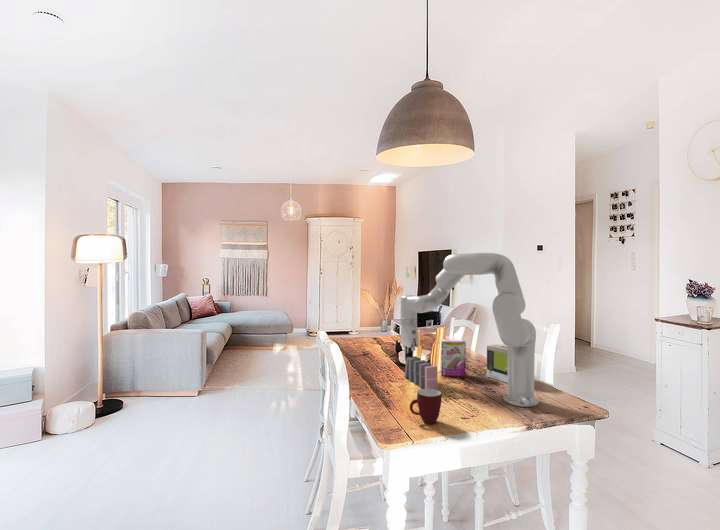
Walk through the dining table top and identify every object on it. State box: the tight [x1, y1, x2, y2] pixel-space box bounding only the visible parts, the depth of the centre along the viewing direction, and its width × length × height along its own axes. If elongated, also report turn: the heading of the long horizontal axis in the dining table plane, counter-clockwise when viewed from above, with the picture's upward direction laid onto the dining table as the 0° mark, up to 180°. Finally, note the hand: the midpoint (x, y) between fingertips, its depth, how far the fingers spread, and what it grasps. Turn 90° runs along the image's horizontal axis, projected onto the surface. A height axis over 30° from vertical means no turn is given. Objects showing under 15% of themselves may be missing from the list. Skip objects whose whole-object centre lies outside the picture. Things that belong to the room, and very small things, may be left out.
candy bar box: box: [440, 339, 467, 377], centre depth 186 cm, size 11×5×16 cm, turn 84°
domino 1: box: [403, 355, 418, 379], centre depth 181 cm, size 2×5×10 cm, turn 110°
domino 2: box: [408, 357, 421, 383], centre depth 178 cm, size 2×5×10 cm, turn 110°
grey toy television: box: [486, 343, 508, 384], centre depth 179 cm, size 15×10×15 cm, turn 28°
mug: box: [409, 388, 443, 425], centre depth 133 cm, size 10×8×10 cm
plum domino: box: [424, 365, 438, 390], centre depth 164 cm, size 2×5×10 cm, turn 111°
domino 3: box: [413, 359, 427, 386], centre depth 173 cm, size 2×5×10 cm, turn 110°
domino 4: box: [418, 362, 432, 389], centre depth 169 cm, size 2×5×10 cm, turn 110°
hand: (409, 361), depth 183 cm, fingers closed
